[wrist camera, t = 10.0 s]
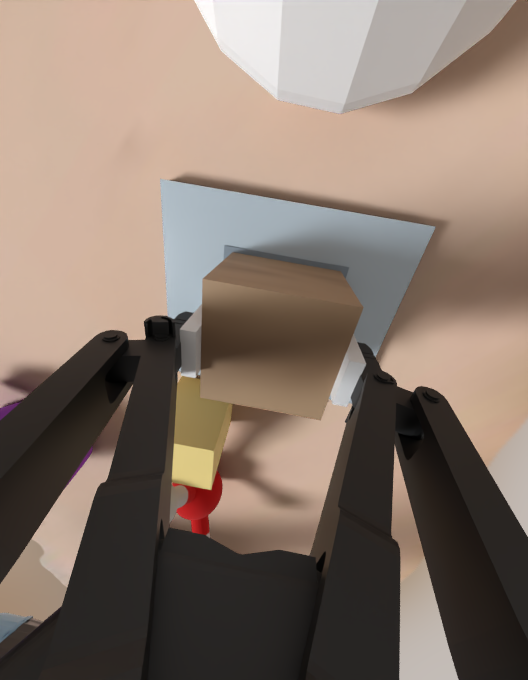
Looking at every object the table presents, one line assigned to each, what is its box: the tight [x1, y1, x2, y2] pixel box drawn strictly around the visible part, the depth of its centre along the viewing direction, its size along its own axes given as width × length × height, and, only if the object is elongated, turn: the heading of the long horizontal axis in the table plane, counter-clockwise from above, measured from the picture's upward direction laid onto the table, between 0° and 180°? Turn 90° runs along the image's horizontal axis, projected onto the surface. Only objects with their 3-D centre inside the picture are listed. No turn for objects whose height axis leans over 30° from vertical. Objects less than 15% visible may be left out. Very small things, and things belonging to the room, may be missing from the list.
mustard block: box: [172, 376, 233, 490], centre depth 21 cm, size 5×5×7 cm
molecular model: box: [170, 471, 222, 538], centre depth 26 cm, size 18×6×10 cm, turn 10°
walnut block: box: [200, 252, 364, 420], centre depth 15 cm, size 7×7×6 cm
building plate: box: [160, 179, 435, 403], centre depth 18 cm, size 14×16×1 cm
